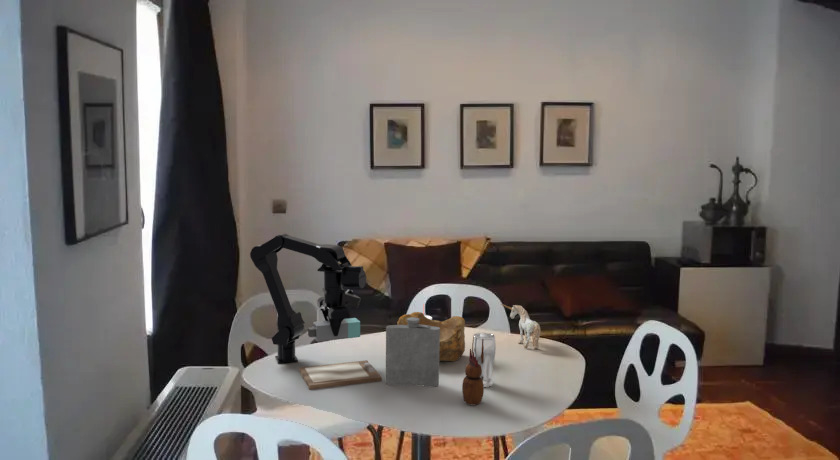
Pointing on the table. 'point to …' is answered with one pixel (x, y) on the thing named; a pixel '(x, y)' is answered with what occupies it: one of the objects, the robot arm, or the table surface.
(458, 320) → the rough brown rock
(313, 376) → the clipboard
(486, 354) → the beer glass
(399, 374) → the hip flask
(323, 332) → the marker
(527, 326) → the unicorn figurine
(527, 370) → the table surface
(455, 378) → the table surface
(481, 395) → the wooden figurine
